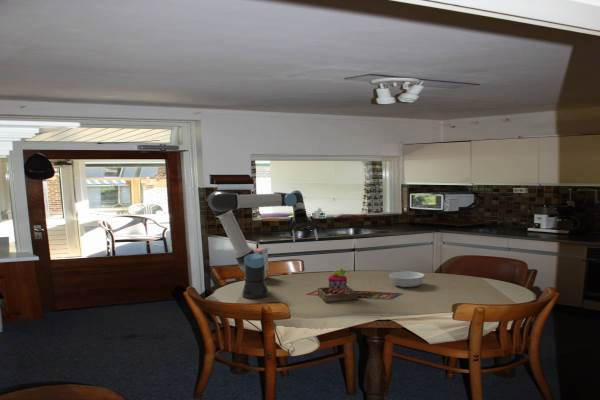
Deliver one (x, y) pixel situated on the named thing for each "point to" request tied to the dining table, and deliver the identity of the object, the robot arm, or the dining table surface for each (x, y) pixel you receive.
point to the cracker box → (264, 253)
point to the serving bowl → (407, 278)
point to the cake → (337, 283)
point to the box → (337, 295)
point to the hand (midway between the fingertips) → (305, 239)
